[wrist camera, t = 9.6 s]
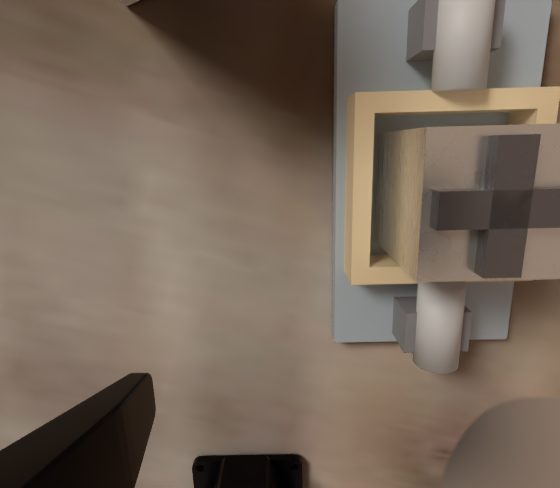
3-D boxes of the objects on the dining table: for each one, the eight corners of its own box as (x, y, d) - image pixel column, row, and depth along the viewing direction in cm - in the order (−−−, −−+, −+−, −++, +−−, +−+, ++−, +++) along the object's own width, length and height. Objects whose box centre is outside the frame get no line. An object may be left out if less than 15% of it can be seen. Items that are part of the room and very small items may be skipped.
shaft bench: (496, 330, 21) (545, 371, 17) (331, 333, 21) (343, 375, 17) (537, 1, 17) (613, -42, 13) (334, 7, 17) (350, -34, 13)
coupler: (488, 130, 17) (609, 121, 11) (477, 237, 19) (579, 285, 12) (378, 133, 17) (434, 125, 11) (374, 239, 19) (422, 288, 12)
